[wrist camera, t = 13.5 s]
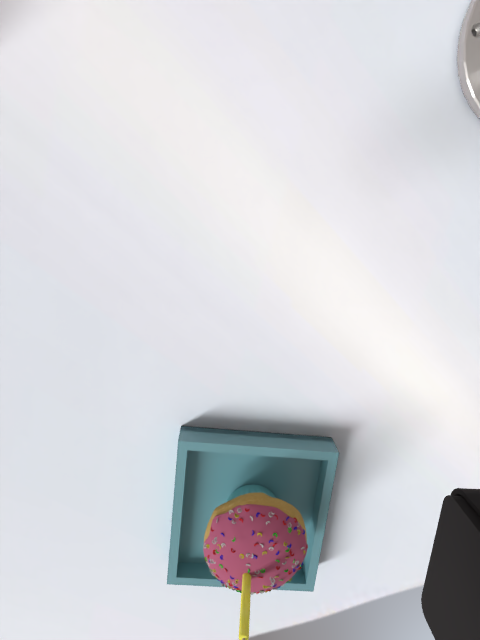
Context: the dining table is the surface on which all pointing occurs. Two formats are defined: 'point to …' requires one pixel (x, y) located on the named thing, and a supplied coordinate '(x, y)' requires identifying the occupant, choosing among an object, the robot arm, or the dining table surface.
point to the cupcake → (254, 544)
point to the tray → (239, 470)
